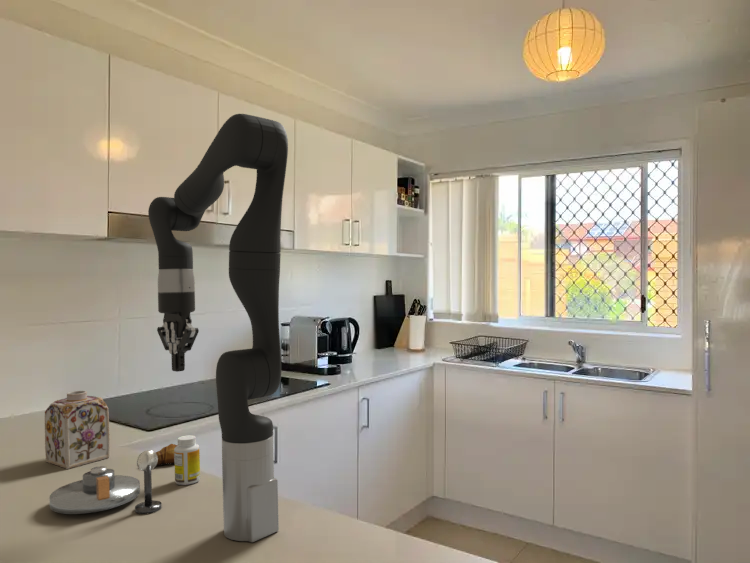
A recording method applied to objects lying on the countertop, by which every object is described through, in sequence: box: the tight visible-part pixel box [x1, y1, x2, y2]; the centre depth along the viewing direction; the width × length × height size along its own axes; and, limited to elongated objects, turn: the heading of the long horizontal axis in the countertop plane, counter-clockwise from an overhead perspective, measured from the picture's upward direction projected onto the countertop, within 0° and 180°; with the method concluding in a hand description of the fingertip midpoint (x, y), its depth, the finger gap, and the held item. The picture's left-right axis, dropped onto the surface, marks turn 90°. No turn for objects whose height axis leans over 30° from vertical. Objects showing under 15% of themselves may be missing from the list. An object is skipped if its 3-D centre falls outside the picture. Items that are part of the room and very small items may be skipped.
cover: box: [82, 465, 115, 494], centre depth 120 cm, size 6×6×4 cm
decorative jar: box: [44, 390, 111, 470], centre depth 150 cm, size 12×12×18 cm
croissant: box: [155, 443, 178, 467], centre depth 146 cm, size 14×7×5 cm, turn 122°
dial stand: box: [134, 449, 163, 515], centre depth 115 cm, size 5×5×12 cm
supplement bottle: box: [174, 434, 201, 486], centre depth 131 cm, size 6×6×10 cm
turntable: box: [48, 474, 141, 515], centre depth 119 cm, size 17×17×6 cm
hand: (178, 370), depth 122 cm, fingers closed
